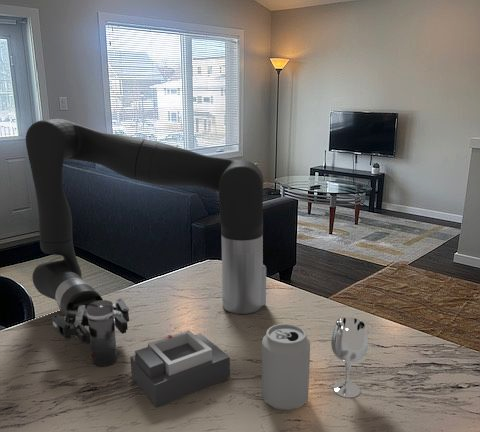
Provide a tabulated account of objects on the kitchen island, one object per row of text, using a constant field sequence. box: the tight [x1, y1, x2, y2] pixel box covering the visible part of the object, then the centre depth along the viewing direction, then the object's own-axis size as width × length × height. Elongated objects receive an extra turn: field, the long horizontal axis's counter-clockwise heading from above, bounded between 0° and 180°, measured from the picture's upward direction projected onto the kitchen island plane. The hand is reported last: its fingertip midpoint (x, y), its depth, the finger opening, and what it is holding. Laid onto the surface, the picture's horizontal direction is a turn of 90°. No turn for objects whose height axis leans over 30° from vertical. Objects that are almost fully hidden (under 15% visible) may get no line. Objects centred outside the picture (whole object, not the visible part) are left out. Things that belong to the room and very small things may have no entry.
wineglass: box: [330, 316, 369, 399], centre depth 78 cm, size 6×6×12 cm
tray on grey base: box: [129, 329, 231, 408], centre depth 82 cm, size 14×10×6 cm
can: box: [261, 323, 311, 412], centre depth 75 cm, size 8×8×12 cm
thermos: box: [87, 299, 118, 368], centre depth 87 cm, size 5×5×11 cm
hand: (106, 333), depth 85 cm, fingers open, 6 cm apart
